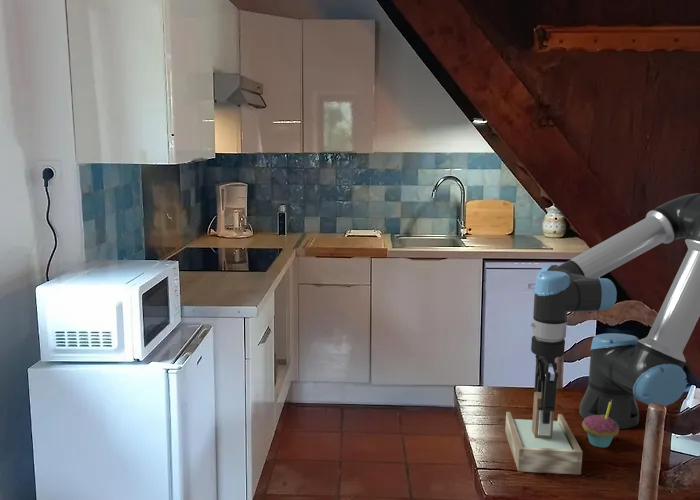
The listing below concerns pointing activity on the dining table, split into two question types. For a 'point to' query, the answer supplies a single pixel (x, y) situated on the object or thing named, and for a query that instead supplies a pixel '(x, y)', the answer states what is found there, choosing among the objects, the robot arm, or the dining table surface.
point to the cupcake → (600, 428)
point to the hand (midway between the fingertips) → (542, 430)
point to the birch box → (544, 452)
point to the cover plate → (541, 442)
